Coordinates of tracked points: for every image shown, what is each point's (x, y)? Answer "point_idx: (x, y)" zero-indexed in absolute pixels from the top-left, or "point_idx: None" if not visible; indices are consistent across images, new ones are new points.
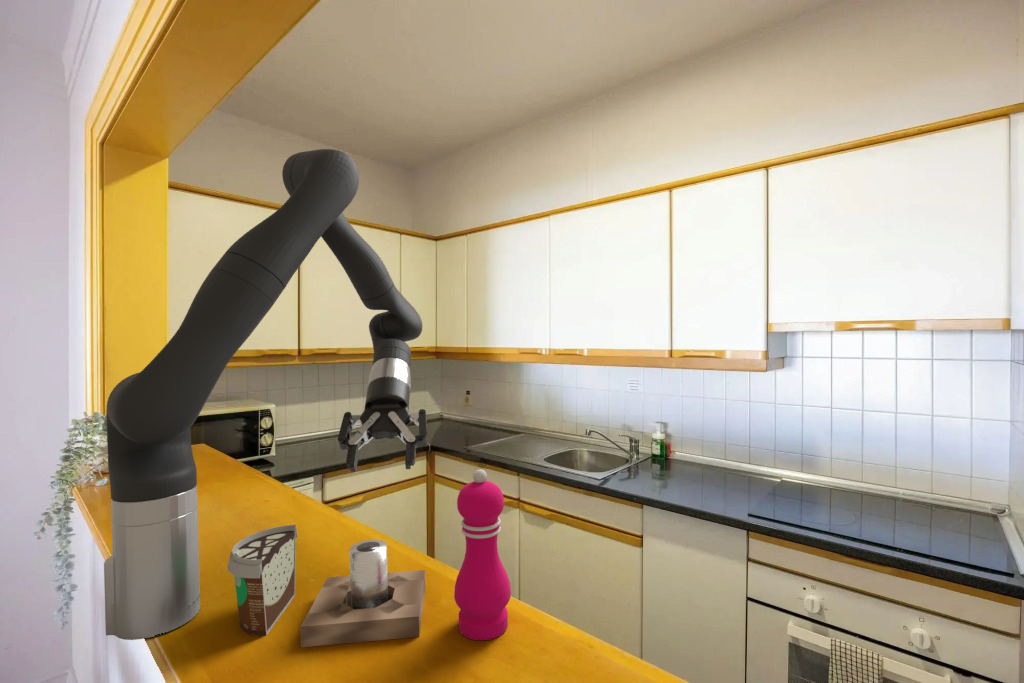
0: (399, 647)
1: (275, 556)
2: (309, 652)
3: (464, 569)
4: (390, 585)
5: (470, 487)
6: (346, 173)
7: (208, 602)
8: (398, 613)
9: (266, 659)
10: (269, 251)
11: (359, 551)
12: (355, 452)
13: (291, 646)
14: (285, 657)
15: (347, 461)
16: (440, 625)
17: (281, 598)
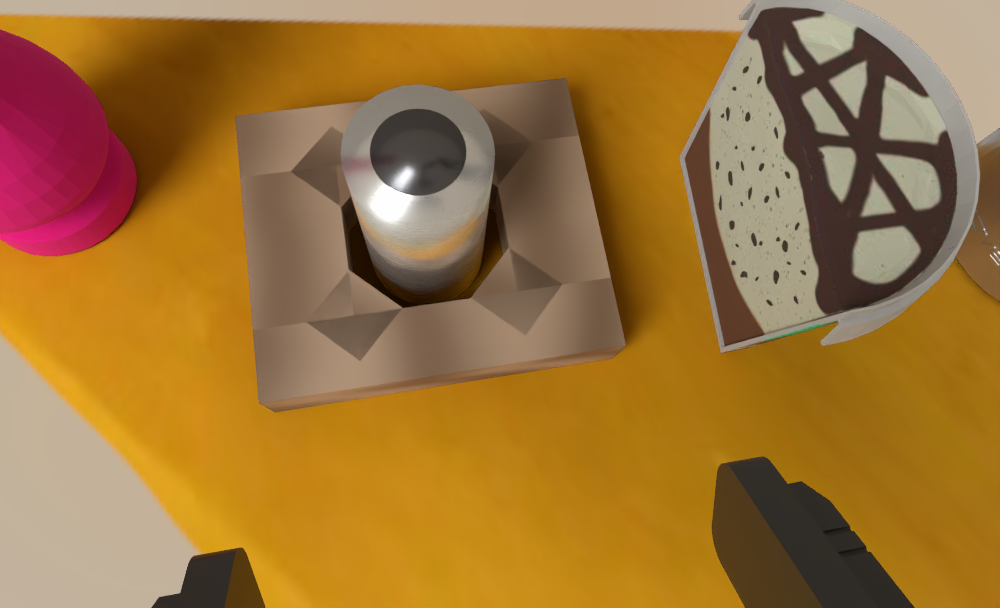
0: (298, 106)
1: (778, 130)
2: None
3: (9, 46)
4: (369, 288)
5: None
6: None
7: (973, 315)
8: (301, 130)
9: (619, 72)
10: None
11: (442, 114)
12: (794, 559)
13: (585, 115)
14: (577, 77)
15: (815, 503)
16: (195, 193)
17: (718, 239)
